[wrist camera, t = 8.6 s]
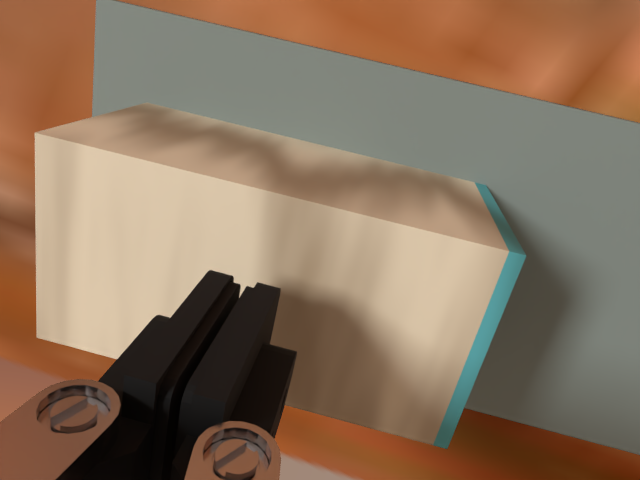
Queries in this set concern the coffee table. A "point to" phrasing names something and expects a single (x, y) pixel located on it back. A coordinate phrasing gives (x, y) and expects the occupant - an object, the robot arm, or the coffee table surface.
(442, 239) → the maple block
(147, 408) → the robot arm
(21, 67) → the coffee table surface
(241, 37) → the rubber mat
